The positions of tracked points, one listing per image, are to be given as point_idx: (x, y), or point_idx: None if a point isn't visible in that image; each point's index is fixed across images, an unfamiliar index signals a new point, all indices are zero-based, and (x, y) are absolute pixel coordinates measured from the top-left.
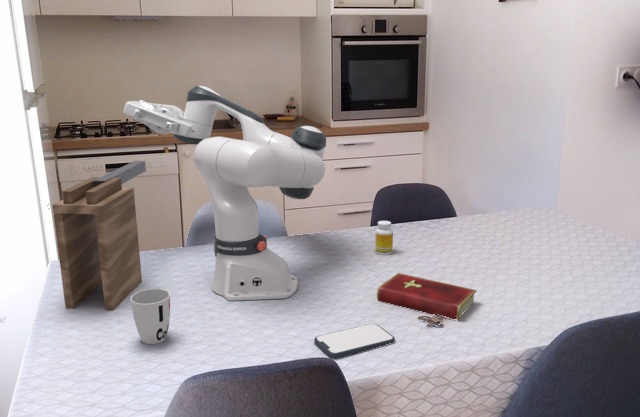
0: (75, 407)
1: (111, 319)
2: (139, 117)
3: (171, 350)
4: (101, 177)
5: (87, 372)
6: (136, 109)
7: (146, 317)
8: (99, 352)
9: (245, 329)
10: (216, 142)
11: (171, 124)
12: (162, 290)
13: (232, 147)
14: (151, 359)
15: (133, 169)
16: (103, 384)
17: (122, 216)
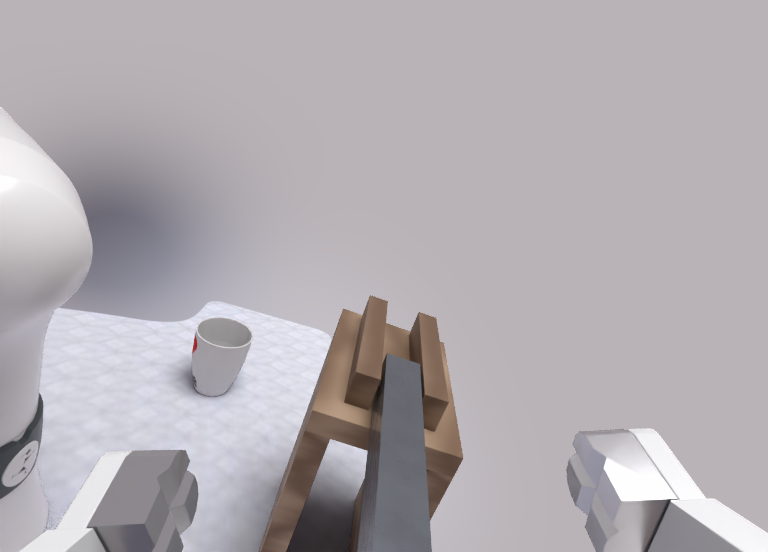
0: (282, 321)
1: (279, 448)
2: (588, 530)
3: (190, 359)
4: (417, 387)
5: (283, 354)
6: (738, 514)
7: (227, 336)
8: (279, 379)
9: (62, 369)
10: (24, 136)
11: (117, 452)
12: (206, 341)
13: (5, 112)
14: None
15: (368, 547)
16: (264, 336)
17: (312, 401)
